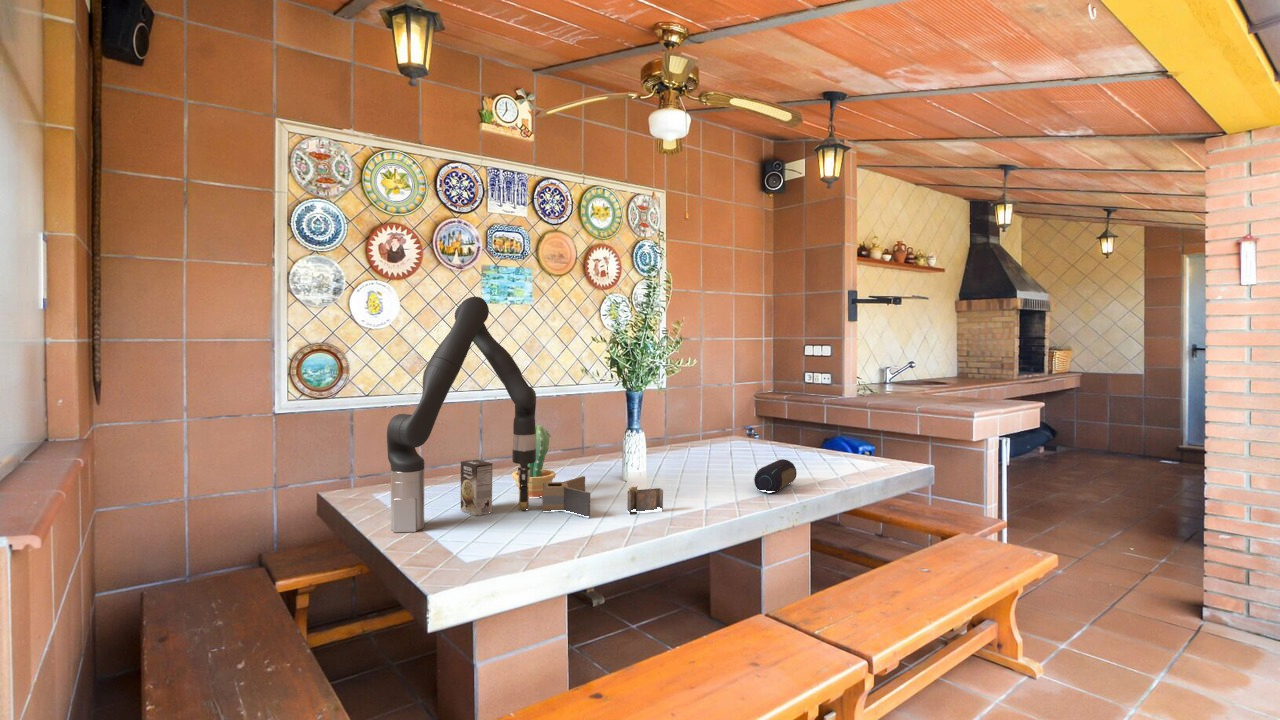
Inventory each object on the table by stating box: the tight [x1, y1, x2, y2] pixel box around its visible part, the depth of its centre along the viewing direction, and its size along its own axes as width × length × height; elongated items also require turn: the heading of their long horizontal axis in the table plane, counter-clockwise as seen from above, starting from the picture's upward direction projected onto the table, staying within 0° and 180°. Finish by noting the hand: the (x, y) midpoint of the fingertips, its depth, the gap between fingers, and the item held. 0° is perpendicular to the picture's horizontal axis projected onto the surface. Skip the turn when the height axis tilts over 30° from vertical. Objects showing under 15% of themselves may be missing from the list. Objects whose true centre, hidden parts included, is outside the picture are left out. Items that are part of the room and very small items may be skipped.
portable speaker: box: [753, 459, 797, 492], centre depth 249 cm, size 25×10×10 cm, turn 149°
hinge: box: [541, 475, 591, 517], centre depth 216 cm, size 25×15×8 cm, turn 9°
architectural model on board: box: [626, 485, 664, 512], centre depth 213 cm, size 11×3×10 cm, turn 111°
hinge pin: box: [518, 477, 530, 511], centre depth 214 cm, size 4×4×11 cm
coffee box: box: [460, 459, 494, 516], centre depth 211 cm, size 9×6×16 cm
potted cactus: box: [511, 424, 557, 497], centre depth 233 cm, size 15×15×25 cm
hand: (523, 500), depth 214 cm, fingers closed on hinge pin, 3 cm apart
